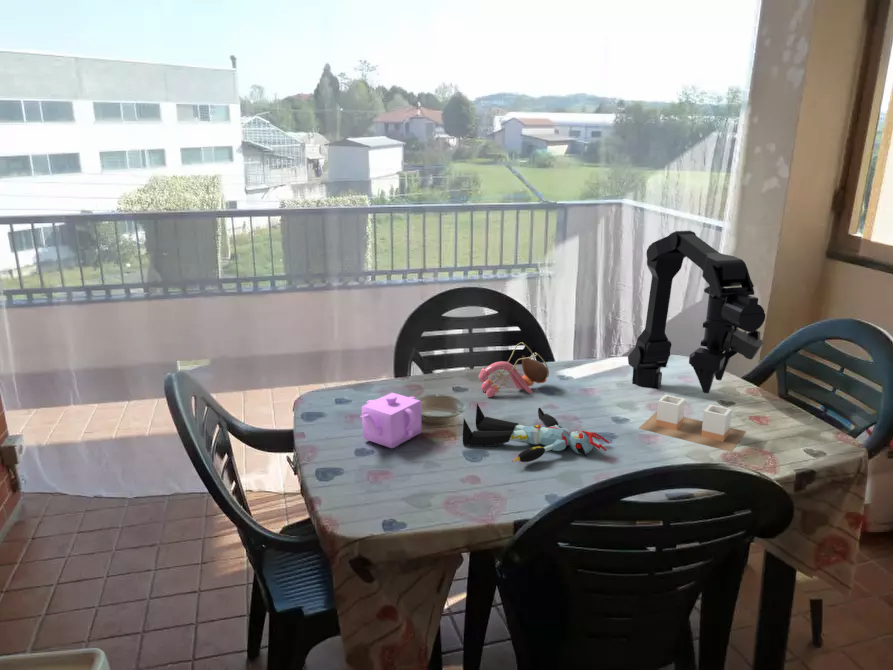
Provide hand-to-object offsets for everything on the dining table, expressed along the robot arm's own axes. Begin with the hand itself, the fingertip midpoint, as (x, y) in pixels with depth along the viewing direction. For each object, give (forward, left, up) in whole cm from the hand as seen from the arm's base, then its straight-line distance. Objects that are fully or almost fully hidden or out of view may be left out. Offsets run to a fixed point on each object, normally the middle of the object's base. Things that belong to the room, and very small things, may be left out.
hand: (712, 386), depth 146 cm
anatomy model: (-49, -2, -12) cm, 51 cm away
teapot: (-57, -43, -12) cm, 72 cm away
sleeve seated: (-8, -2, -10) cm, 13 cm away
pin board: (-3, -2, -12) cm, 12 cm away
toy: (-29, -26, -12) cm, 41 cm away
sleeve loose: (+2, -2, -10) cm, 11 cm away
